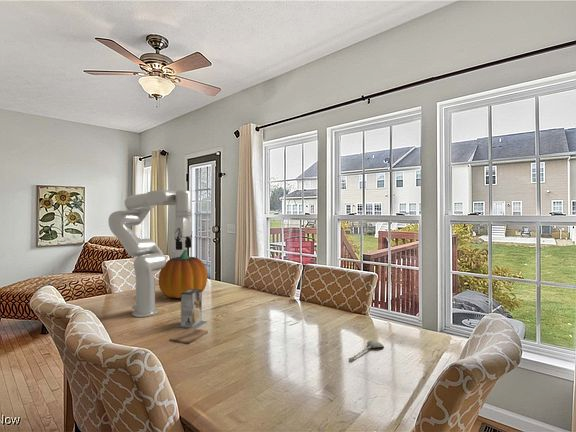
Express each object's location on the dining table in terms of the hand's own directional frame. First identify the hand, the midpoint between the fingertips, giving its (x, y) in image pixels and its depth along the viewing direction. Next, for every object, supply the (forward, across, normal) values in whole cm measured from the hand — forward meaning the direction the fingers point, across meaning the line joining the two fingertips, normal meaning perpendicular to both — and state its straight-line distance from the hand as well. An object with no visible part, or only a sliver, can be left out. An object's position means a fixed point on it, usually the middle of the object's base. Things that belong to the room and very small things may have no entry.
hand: (183, 248), depth 158 cm
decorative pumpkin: (+36, -43, -22) cm, 60 cm away
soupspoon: (+39, +23, +87) cm, 98 cm away
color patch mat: (+36, +5, +6) cm, 37 cm away
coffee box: (+36, +5, +6) cm, 37 cm away
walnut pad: (+36, +20, +12) cm, 43 cm away
